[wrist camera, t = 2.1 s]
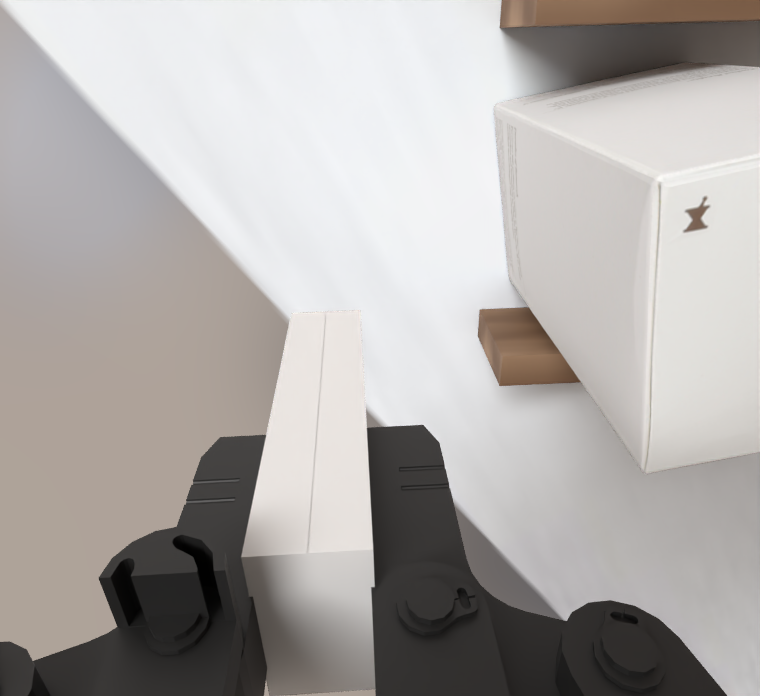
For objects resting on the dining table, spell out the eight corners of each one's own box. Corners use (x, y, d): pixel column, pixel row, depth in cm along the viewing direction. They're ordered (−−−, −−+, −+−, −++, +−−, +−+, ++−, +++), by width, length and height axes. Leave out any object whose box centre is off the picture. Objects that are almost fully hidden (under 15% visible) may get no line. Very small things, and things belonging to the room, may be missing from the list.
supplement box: (505, 285, 29) (634, 486, 16) (489, 101, 25) (648, 170, 12) (680, 250, 29) (961, 429, 15) (695, 57, 24) (1104, 78, 11)
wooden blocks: (503, -19, 22) (540, -32, 18) (792, -25, 23) (897, -40, 18) (477, 336, 30) (499, 385, 26) (693, 326, 31) (750, 374, 26)
